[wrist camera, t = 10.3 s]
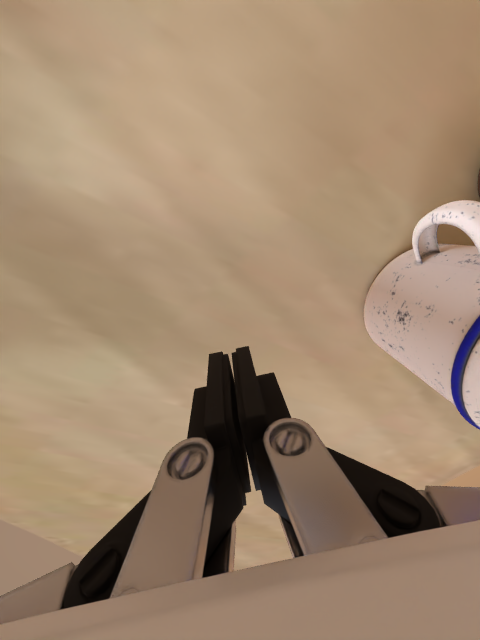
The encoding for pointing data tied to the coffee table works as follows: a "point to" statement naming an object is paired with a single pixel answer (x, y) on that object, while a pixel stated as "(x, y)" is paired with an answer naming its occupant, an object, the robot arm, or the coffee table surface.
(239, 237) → the coffee table surface
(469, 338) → the teacup with lid
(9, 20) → the coffee table surface
